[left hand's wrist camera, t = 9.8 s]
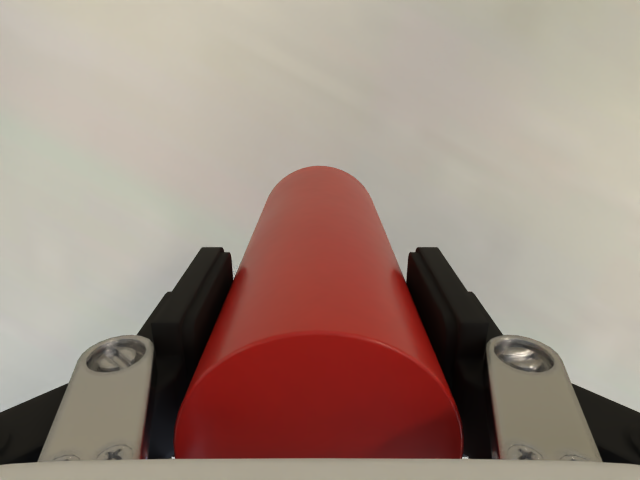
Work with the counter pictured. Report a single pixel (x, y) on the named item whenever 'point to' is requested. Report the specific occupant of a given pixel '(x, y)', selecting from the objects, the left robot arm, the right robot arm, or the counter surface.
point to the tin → (318, 342)
